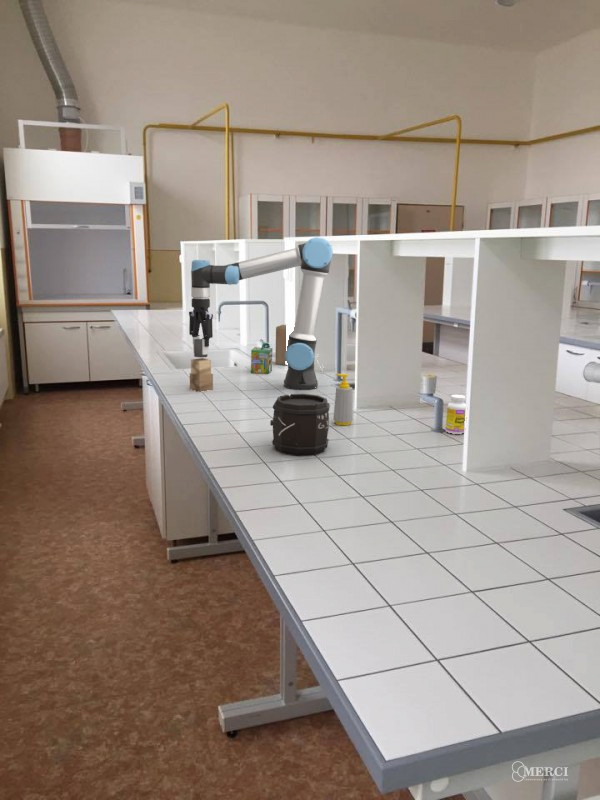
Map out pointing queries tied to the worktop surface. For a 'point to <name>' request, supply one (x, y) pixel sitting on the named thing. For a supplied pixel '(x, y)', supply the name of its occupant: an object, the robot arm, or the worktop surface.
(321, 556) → the worktop surface
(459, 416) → the supplement bottle
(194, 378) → the walnut cube
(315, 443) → the wooden barrel
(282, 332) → the block
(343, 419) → the soap bottle
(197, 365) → the oak cube
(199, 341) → the stopper
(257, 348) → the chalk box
